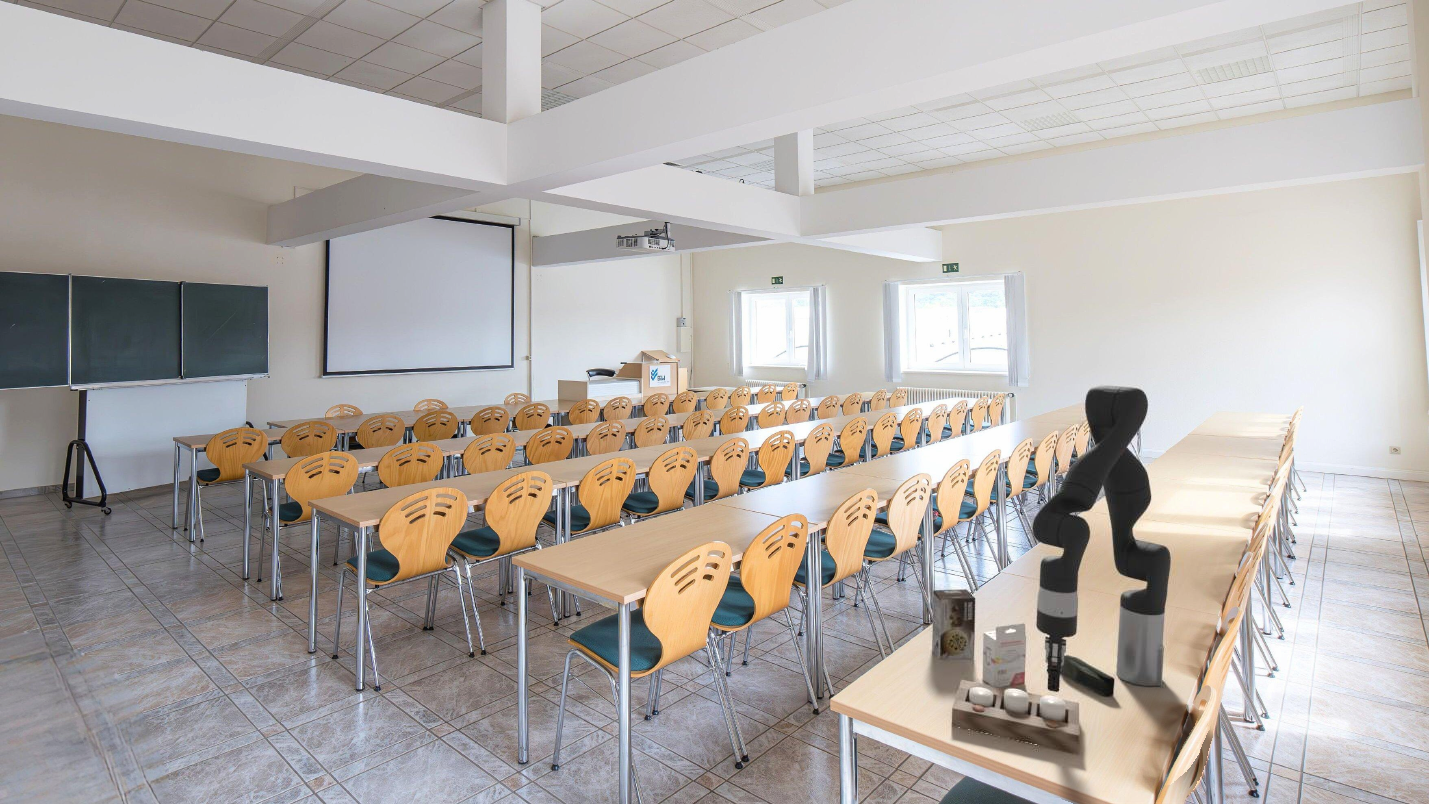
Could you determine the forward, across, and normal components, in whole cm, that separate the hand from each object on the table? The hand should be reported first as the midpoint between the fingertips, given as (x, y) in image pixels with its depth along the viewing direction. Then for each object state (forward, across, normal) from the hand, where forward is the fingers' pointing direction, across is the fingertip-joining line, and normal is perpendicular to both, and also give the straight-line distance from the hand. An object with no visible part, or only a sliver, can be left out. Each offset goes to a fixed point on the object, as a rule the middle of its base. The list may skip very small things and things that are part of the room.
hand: (1053, 689), depth 152 cm
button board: (+9, 0, +7) cm, 11 cm away
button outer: (+8, 0, +14) cm, 16 cm away
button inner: (+7, 0, 0) cm, 7 cm away
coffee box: (+9, +29, +24) cm, 39 cm away
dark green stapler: (+9, +26, -6) cm, 29 cm away
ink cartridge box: (+9, +19, +11) cm, 24 cm away
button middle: (+7, 0, +7) cm, 10 cm away
